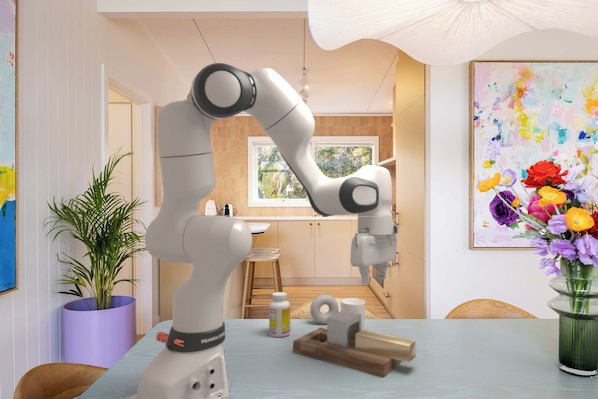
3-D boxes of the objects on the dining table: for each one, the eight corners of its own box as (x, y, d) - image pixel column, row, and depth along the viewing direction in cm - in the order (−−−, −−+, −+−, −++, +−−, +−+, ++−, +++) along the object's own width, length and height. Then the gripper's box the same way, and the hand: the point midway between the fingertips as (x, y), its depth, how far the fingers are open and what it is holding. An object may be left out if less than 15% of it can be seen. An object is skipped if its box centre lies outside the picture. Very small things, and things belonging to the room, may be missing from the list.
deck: (383, 377, 92) (383, 365, 92) (293, 351, 108) (293, 341, 108) (405, 358, 103) (405, 346, 103) (320, 337, 119) (320, 327, 119)
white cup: (360, 338, 118) (360, 305, 118) (336, 333, 122) (336, 302, 122) (368, 330, 125) (368, 299, 125) (346, 326, 129) (346, 296, 129)
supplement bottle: (291, 331, 125) (291, 291, 125) (289, 338, 118) (288, 296, 118) (271, 330, 126) (271, 291, 126) (267, 337, 119) (267, 296, 119)
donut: (336, 321, 135) (336, 292, 135) (340, 324, 131) (339, 295, 132) (309, 323, 133) (309, 294, 133) (311, 326, 129) (311, 296, 129)
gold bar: (409, 362, 93) (409, 346, 93) (355, 349, 101) (355, 334, 101) (415, 356, 96) (415, 340, 97) (363, 344, 105) (363, 329, 105)
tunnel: (346, 350, 101) (346, 321, 101) (327, 345, 104) (327, 317, 104) (361, 340, 108) (361, 314, 108) (342, 336, 111) (342, 310, 111)
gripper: (367, 229, 90) (367, 288, 90) (400, 227, 107) (400, 277, 106) (344, 228, 94) (343, 285, 93) (379, 226, 110) (379, 275, 110)
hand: (374, 281), depth 100 cm, fingers open, 8 cm apart
